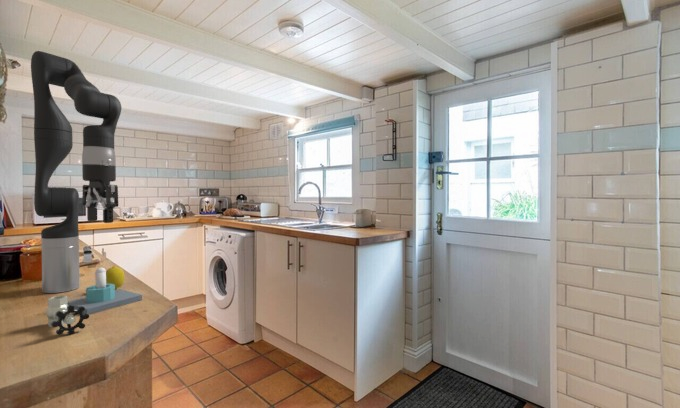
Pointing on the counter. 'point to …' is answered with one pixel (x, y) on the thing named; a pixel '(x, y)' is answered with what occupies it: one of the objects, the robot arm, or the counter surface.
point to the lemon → (115, 276)
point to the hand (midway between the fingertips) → (100, 221)
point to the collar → (100, 293)
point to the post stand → (119, 300)
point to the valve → (64, 314)
